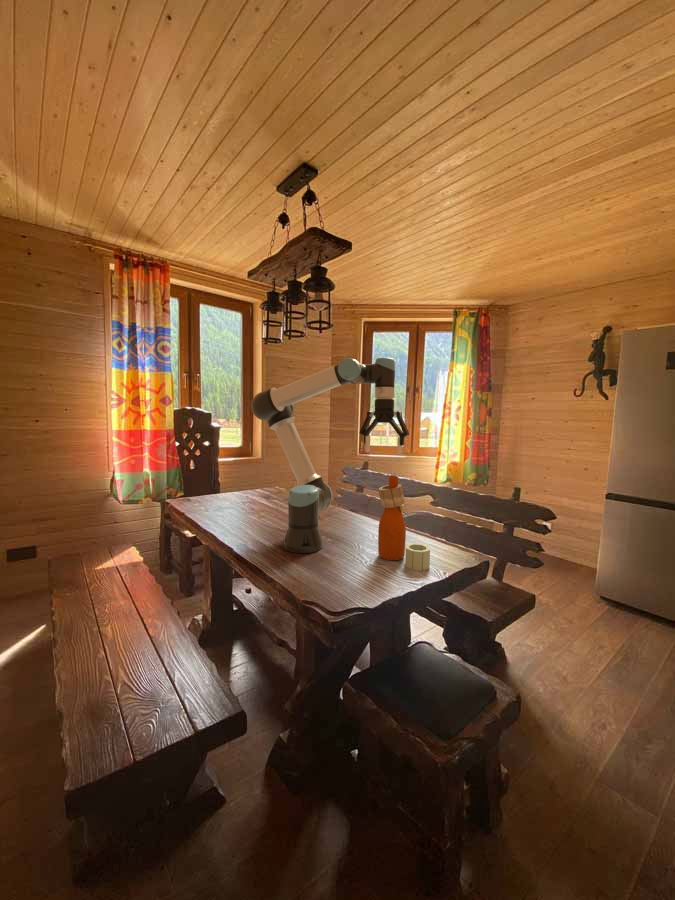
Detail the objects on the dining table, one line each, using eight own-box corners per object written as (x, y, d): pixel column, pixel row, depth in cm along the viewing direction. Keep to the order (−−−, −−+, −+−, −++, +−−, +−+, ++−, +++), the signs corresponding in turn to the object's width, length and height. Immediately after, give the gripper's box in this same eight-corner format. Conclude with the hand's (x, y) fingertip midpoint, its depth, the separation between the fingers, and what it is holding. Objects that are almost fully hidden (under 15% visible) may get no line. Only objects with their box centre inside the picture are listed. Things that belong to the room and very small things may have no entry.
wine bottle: (390, 563, 129) (392, 478, 127) (372, 554, 138) (374, 474, 135) (410, 558, 135) (413, 476, 132) (392, 550, 143) (394, 472, 141)
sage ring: (405, 569, 125) (405, 550, 124) (405, 560, 133) (406, 542, 132) (429, 571, 123) (430, 552, 123) (428, 562, 131) (429, 544, 131)
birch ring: (379, 508, 133) (376, 490, 132) (386, 502, 140) (382, 485, 139) (401, 506, 129) (397, 488, 129) (406, 500, 136) (403, 483, 136)
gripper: (351, 398, 148) (350, 451, 150) (411, 397, 135) (409, 455, 137) (360, 399, 155) (359, 450, 156) (418, 398, 142) (416, 454, 143)
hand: (383, 453), depth 147 cm, fingers open, 13 cm apart
